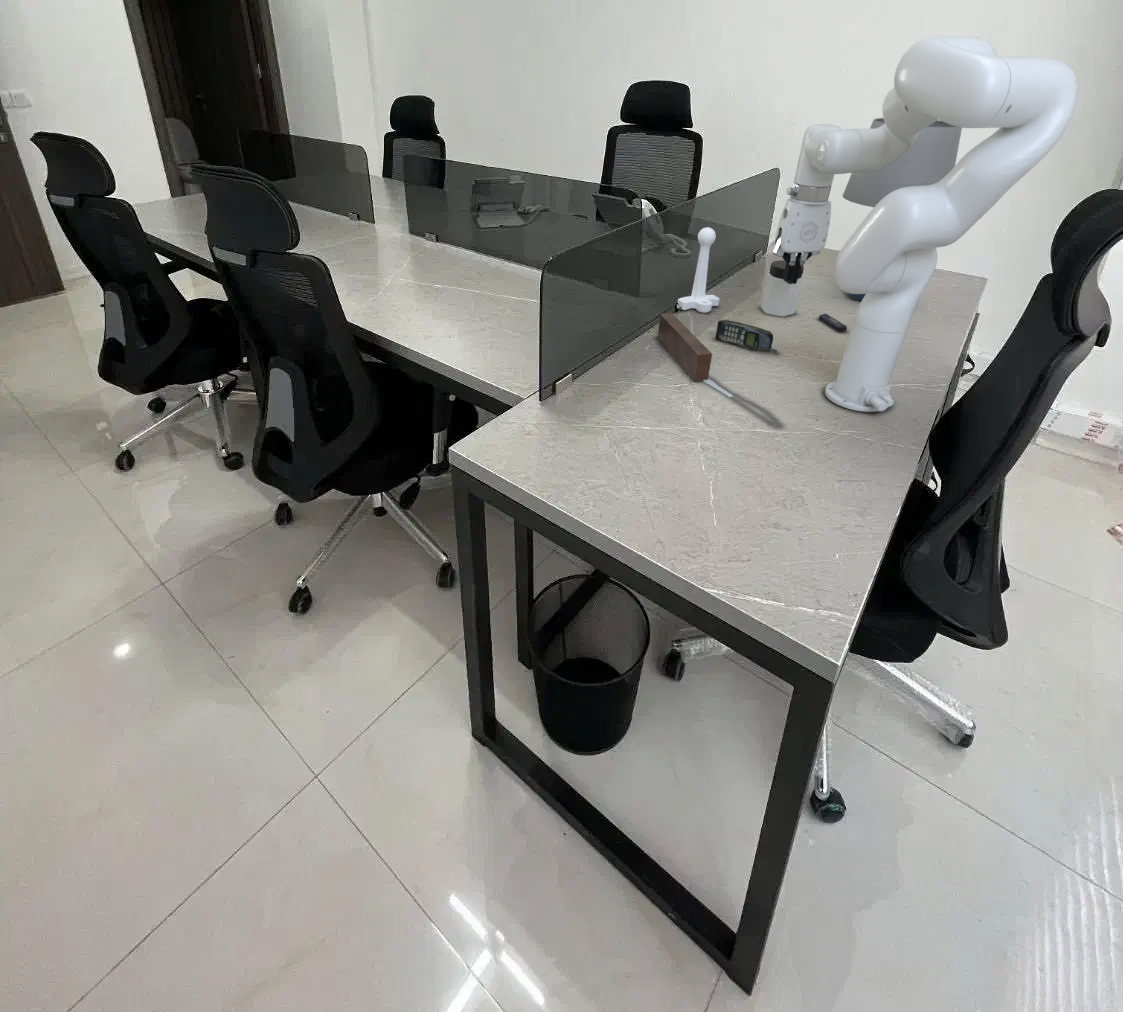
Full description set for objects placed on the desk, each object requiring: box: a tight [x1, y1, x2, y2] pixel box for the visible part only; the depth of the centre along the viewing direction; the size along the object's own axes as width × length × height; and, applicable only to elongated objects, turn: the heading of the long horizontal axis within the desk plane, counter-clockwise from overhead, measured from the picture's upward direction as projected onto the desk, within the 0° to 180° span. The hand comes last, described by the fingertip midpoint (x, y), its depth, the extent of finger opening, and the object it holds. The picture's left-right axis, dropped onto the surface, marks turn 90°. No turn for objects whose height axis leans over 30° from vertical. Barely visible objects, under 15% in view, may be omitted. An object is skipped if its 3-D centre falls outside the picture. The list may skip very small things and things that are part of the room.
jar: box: [760, 259, 805, 317], centre depth 170 cm, size 9×8×12 cm
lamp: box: [842, 117, 963, 302], centre depth 171 cm, size 25×25×43 cm
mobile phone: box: [715, 319, 778, 354], centre depth 152 cm, size 5×3×15 cm
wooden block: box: [657, 312, 713, 382], centre depth 145 cm, size 24×3×6 cm, turn 12°
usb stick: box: [818, 313, 848, 333], centre depth 165 cm, size 10×3×2 cm, turn 14°
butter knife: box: [702, 377, 734, 398], centre depth 132 cm, size 1×27×3 cm
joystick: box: [676, 226, 720, 314], centre depth 168 cm, size 11×8×20 cm
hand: (789, 281), depth 147 cm, fingers closed
